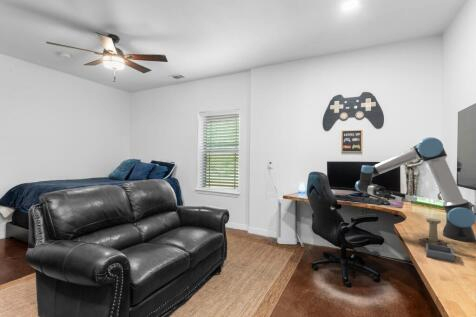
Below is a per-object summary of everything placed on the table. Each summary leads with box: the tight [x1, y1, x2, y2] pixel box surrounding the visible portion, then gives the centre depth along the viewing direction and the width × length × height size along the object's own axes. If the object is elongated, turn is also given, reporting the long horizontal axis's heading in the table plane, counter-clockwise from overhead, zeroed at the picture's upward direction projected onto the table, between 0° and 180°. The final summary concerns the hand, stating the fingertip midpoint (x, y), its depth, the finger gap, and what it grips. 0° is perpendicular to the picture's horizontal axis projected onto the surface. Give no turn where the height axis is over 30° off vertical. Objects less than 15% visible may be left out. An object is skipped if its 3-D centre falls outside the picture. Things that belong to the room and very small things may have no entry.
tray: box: [425, 243, 456, 263], centre depth 122 cm, size 12×11×4 cm
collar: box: [418, 237, 449, 247], centre depth 135 cm, size 10×8×3 cm
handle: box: [425, 217, 442, 242], centre depth 135 cm, size 5×6×15 cm
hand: (409, 199), depth 141 cm, fingers open, 13 cm apart
